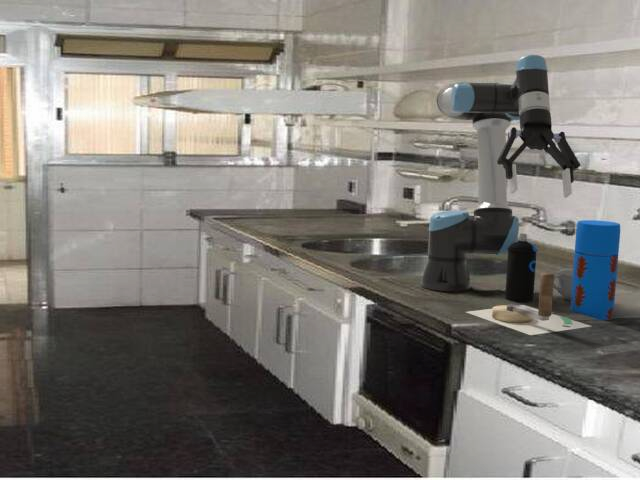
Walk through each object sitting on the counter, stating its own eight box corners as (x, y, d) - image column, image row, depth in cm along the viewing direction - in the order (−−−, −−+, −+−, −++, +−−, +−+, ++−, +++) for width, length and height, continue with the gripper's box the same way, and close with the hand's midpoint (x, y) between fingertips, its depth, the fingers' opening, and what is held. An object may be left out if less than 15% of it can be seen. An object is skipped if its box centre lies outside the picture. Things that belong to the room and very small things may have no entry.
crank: (483, 314, 198) (486, 263, 196) (513, 311, 203) (516, 261, 201) (532, 331, 183) (536, 276, 181) (563, 327, 188) (567, 273, 186)
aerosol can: (505, 306, 215) (509, 235, 212) (502, 300, 223) (506, 231, 220) (535, 308, 214) (540, 236, 211) (531, 301, 222) (536, 232, 219)
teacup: (587, 295, 232) (589, 269, 231) (601, 303, 221) (603, 276, 220) (541, 294, 232) (542, 268, 230) (553, 303, 221) (555, 275, 220)
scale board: (464, 317, 202) (465, 311, 202) (526, 309, 212) (527, 303, 212) (531, 341, 181) (531, 334, 180) (596, 331, 191) (597, 325, 190)
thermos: (561, 313, 209) (568, 221, 205) (588, 309, 214) (595, 219, 210) (594, 322, 200) (602, 226, 196) (621, 318, 205) (629, 224, 201)
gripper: (492, 102, 188) (496, 183, 181) (589, 111, 191) (597, 191, 184) (481, 116, 195) (485, 195, 188) (575, 125, 198) (582, 202, 191)
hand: (541, 193), depth 186 cm, fingers open, 13 cm apart
